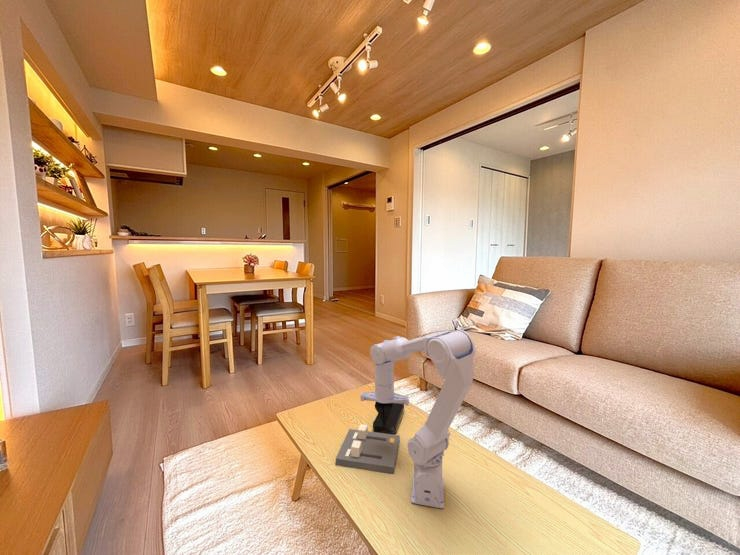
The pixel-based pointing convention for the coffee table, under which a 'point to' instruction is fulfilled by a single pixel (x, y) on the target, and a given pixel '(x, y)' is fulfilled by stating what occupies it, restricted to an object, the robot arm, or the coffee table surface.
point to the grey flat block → (370, 452)
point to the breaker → (356, 448)
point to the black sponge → (390, 420)
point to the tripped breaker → (362, 431)
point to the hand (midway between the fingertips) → (384, 424)
